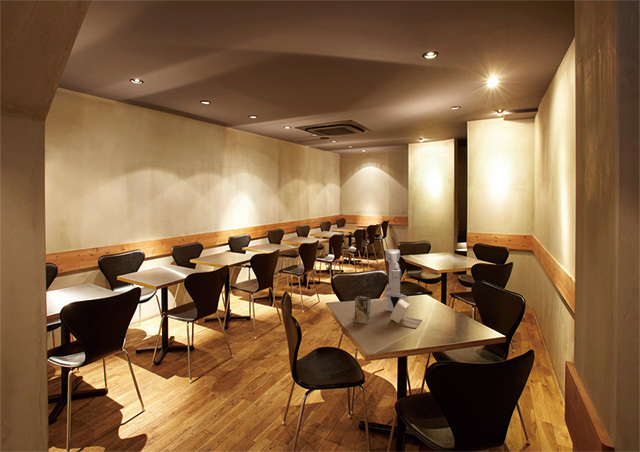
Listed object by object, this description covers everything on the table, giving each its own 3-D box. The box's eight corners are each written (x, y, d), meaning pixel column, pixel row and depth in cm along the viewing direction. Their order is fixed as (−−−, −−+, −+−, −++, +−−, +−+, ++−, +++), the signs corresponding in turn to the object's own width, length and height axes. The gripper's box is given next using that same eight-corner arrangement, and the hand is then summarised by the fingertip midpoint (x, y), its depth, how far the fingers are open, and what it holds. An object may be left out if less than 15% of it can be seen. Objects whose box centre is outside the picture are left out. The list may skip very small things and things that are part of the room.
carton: (394, 313, 228) (401, 299, 224) (402, 319, 225) (409, 304, 222) (389, 317, 220) (397, 302, 217) (398, 323, 217) (406, 308, 214)
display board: (404, 317, 228) (404, 316, 228) (421, 320, 222) (421, 320, 222) (397, 325, 214) (397, 324, 214) (415, 329, 208) (415, 328, 208)
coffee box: (370, 321, 221) (371, 297, 219) (367, 324, 215) (367, 300, 213) (357, 318, 225) (358, 295, 223) (354, 321, 219) (354, 297, 218)
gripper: (382, 287, 221) (382, 307, 223) (404, 290, 214) (403, 311, 215) (386, 285, 228) (385, 304, 229) (407, 288, 220) (406, 308, 221)
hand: (394, 307), depth 222 cm, fingers closed
